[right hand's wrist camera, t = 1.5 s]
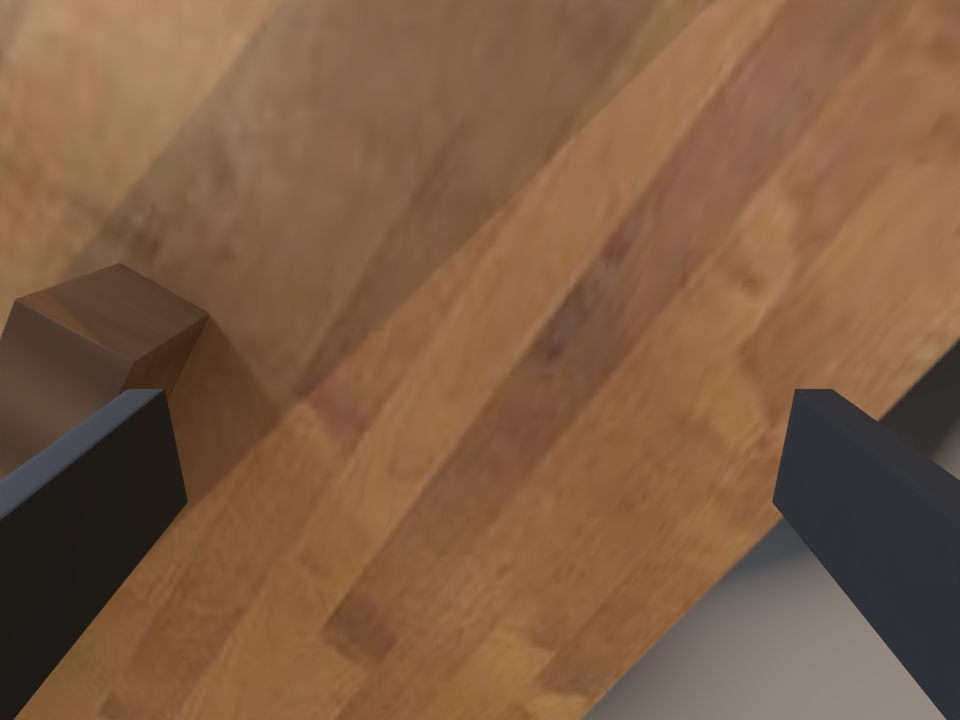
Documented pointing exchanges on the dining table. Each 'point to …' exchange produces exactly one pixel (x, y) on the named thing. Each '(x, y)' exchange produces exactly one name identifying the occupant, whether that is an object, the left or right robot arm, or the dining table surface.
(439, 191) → the dining table surface
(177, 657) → the dining table surface
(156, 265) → the dining table surface
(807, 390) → the right robot arm
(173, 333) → the beam
